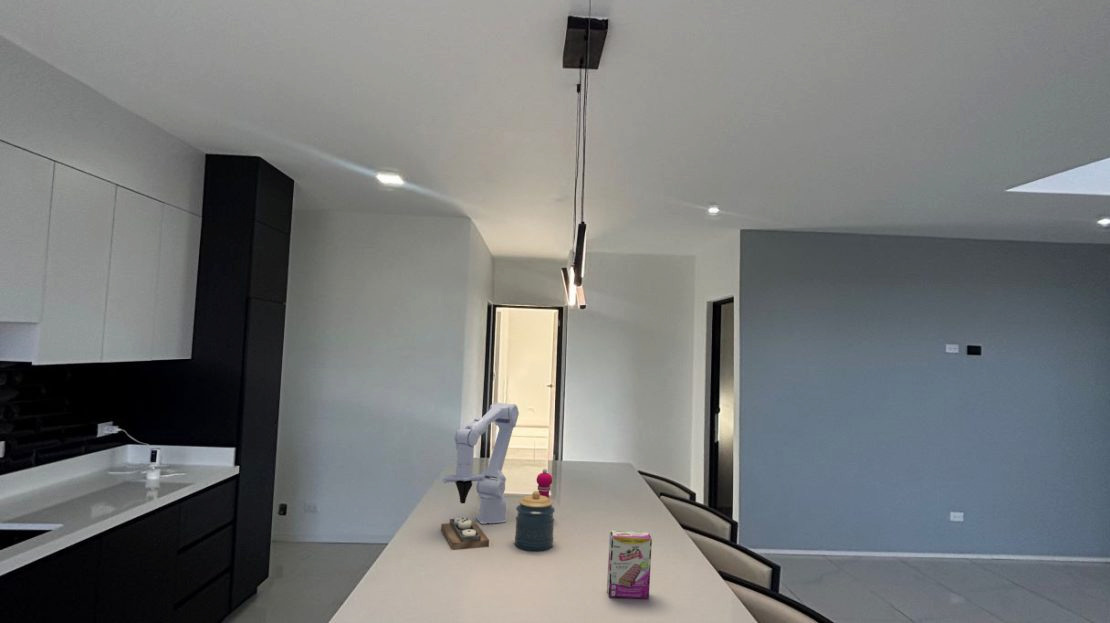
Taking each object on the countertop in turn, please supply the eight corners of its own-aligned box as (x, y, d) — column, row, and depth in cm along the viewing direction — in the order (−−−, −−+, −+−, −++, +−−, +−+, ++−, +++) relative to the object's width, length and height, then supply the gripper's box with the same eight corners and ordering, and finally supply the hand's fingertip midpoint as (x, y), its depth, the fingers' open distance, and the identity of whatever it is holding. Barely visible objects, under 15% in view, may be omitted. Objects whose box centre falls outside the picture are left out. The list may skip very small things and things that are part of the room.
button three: (469, 524, 198) (469, 518, 198) (472, 528, 194) (472, 521, 194) (456, 525, 196) (457, 518, 196) (459, 529, 192) (460, 522, 192)
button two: (465, 522, 204) (465, 516, 204) (467, 526, 200) (468, 520, 200) (452, 523, 202) (453, 517, 202) (455, 527, 198) (455, 521, 198)
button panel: (474, 527, 206) (474, 517, 206) (488, 546, 188) (489, 535, 188) (441, 529, 202) (441, 519, 202) (452, 549, 183) (453, 538, 183)
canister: (548, 553, 184) (551, 498, 185) (509, 548, 186) (512, 494, 187) (556, 540, 196) (558, 488, 197) (520, 536, 199) (522, 484, 200)
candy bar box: (608, 598, 153) (611, 536, 154) (606, 590, 158) (608, 530, 159) (650, 600, 153) (652, 537, 154) (646, 591, 158) (648, 531, 159)
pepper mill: (552, 520, 218) (555, 467, 219) (551, 526, 211) (553, 471, 212) (534, 518, 219) (536, 466, 220) (531, 524, 212) (534, 470, 213)
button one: (473, 534, 192) (474, 528, 192) (476, 539, 188) (477, 532, 188) (460, 535, 190) (461, 529, 190) (463, 540, 186) (464, 533, 186)
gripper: (446, 466, 194) (443, 507, 193) (487, 465, 199) (485, 504, 198) (442, 462, 201) (440, 501, 200) (482, 460, 206) (480, 499, 205)
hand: (462, 502), depth 200 cm, fingers closed
